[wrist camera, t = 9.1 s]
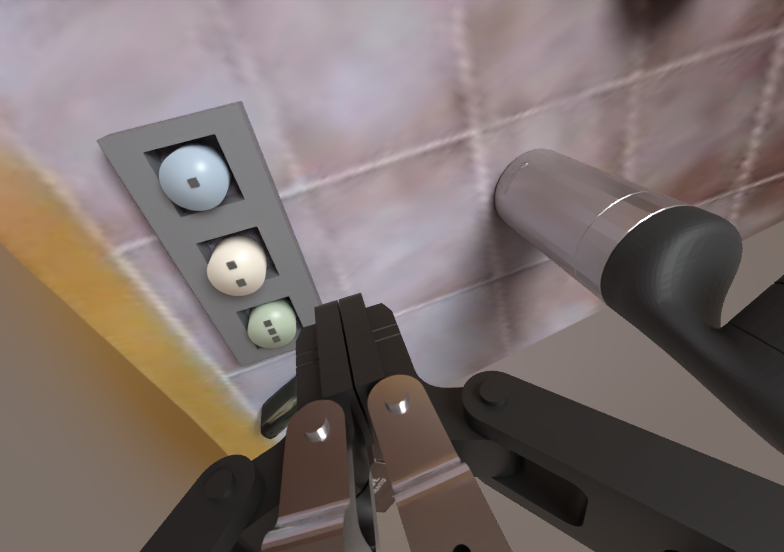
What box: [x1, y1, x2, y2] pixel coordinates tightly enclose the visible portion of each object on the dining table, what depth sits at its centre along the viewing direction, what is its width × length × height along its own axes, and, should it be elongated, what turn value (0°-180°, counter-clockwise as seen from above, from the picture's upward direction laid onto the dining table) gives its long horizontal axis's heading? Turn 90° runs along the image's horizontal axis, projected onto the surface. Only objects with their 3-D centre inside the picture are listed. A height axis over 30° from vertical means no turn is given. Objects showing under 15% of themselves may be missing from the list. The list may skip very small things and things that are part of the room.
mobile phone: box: [261, 377, 297, 439], centre depth 47 cm, size 5×3×15 cm
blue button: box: [159, 143, 232, 211], centre depth 31 cm, size 5×5×3 cm
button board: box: [97, 101, 322, 366], centre depth 37 cm, size 26×11×2 cm, turn 12°
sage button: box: [248, 298, 296, 348], centre depth 41 cm, size 5×5×3 cm
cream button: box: [207, 235, 267, 296], centre depth 35 cm, size 5×5×3 cm
